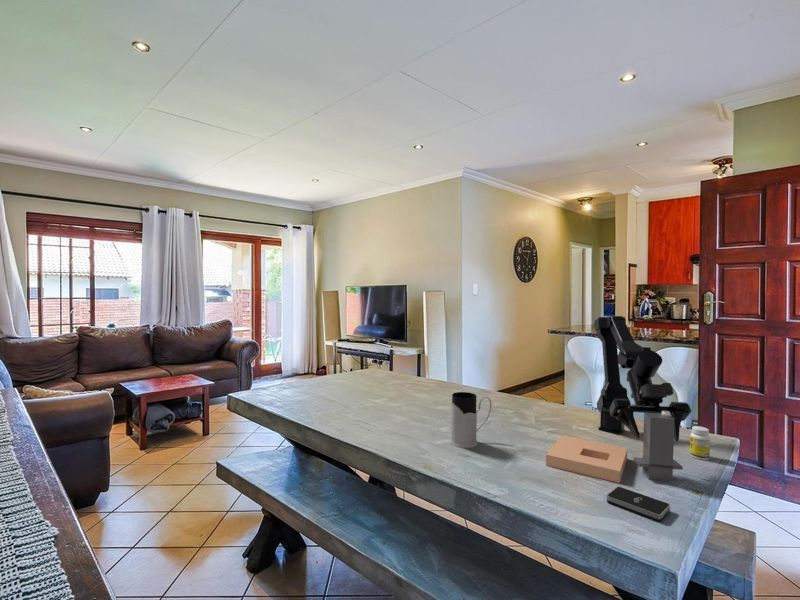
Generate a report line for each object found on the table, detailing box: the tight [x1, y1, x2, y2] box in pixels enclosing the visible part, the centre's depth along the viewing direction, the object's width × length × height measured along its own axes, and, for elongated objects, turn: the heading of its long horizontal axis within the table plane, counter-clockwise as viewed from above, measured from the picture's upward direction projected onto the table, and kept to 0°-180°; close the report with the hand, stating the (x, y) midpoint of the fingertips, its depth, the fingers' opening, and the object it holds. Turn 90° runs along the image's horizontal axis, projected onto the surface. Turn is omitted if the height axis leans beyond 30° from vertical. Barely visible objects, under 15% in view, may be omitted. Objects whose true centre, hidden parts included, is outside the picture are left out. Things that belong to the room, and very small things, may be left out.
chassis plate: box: [545, 434, 628, 484], centre depth 116 cm, size 18×18×3 cm
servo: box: [633, 411, 684, 482], centre depth 107 cm, size 10×4×17 cm, turn 80°
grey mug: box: [449, 391, 492, 449], centre depth 131 cm, size 9×14×15 cm, turn 111°
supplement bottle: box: [689, 425, 711, 461], centre depth 121 cm, size 5×5×8 cm
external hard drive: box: [606, 486, 671, 523], centre depth 93 cm, size 7×11×2 cm, turn 42°
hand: (657, 439), depth 108 cm, fingers open, 9 cm apart
